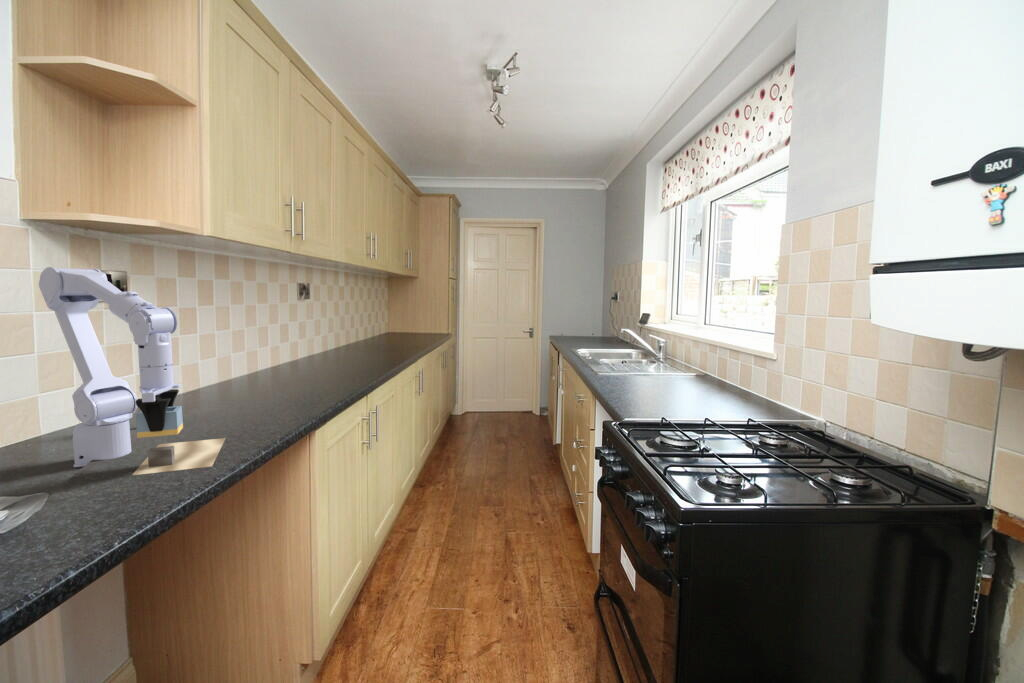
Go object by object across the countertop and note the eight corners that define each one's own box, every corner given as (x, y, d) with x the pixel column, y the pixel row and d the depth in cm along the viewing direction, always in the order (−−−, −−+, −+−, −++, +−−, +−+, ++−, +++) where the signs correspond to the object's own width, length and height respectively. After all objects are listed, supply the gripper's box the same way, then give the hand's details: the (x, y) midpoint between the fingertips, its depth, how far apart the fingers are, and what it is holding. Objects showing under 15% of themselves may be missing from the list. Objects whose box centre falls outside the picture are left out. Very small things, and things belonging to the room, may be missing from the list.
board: (132, 481, 96) (130, 458, 95) (159, 449, 114) (157, 430, 113) (212, 471, 101) (211, 450, 101) (225, 442, 120) (225, 424, 119)
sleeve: (177, 434, 100) (176, 411, 100) (137, 437, 97) (135, 414, 97) (183, 427, 105) (181, 405, 104) (144, 430, 102) (142, 408, 101)
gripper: (170, 370, 94) (174, 435, 96) (186, 359, 108) (189, 416, 109) (126, 371, 92) (131, 439, 93) (148, 360, 105) (152, 419, 106)
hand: (160, 427), depth 101 cm, fingers closed on sleeve, 5 cm apart
